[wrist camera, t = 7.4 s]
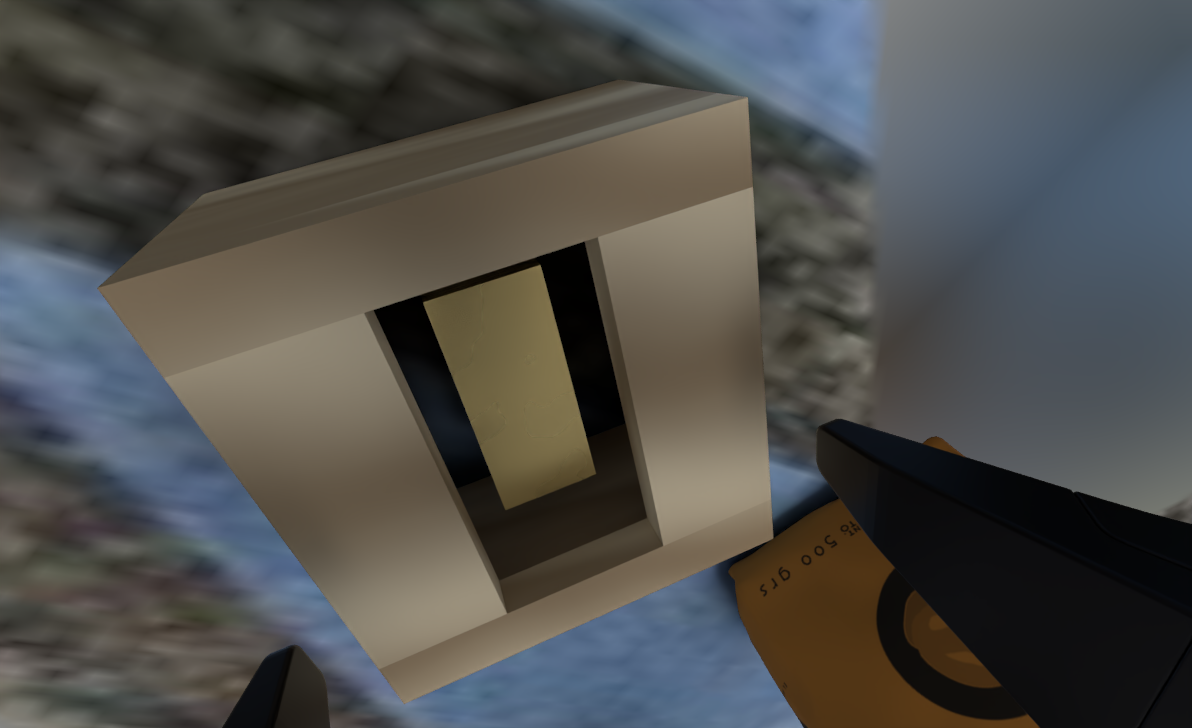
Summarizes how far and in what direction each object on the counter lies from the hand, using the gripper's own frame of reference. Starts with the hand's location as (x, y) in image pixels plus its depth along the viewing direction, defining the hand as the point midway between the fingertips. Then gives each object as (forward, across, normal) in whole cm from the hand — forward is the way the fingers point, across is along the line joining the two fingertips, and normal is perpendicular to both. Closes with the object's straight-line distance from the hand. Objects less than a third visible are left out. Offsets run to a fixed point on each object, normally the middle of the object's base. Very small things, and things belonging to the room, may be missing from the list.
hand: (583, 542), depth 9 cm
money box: (+8, 0, 0) cm, 9 cm away
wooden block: (+9, 0, 0) cm, 9 cm away
